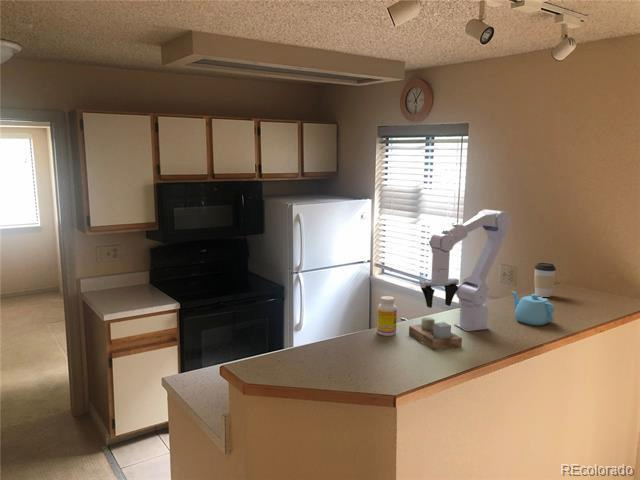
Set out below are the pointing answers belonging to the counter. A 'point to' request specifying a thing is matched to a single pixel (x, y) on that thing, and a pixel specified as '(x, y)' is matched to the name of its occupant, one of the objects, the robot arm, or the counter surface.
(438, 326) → the peg
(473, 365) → the counter surface
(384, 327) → the supplement bottle
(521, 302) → the teapot
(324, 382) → the counter surface
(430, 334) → the base
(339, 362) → the counter surface
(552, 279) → the coffee cup
